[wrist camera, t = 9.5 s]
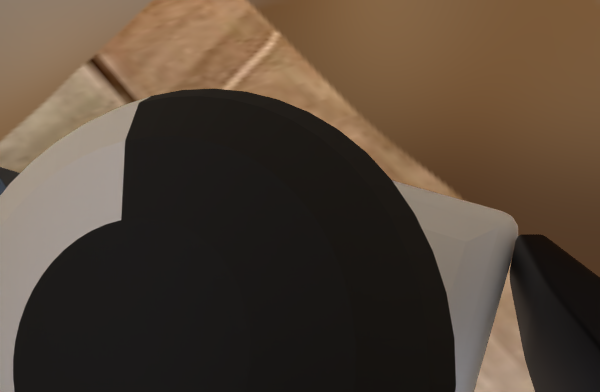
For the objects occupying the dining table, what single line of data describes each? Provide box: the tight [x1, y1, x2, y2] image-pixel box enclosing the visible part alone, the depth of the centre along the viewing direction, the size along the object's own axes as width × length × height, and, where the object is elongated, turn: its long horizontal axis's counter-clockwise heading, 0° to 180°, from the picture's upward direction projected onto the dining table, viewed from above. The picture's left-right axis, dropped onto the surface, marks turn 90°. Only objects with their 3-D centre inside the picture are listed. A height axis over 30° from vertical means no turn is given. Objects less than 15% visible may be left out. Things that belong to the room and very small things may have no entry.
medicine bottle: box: [0, 89, 518, 392], centre depth 10 cm, size 7×7×12 cm
